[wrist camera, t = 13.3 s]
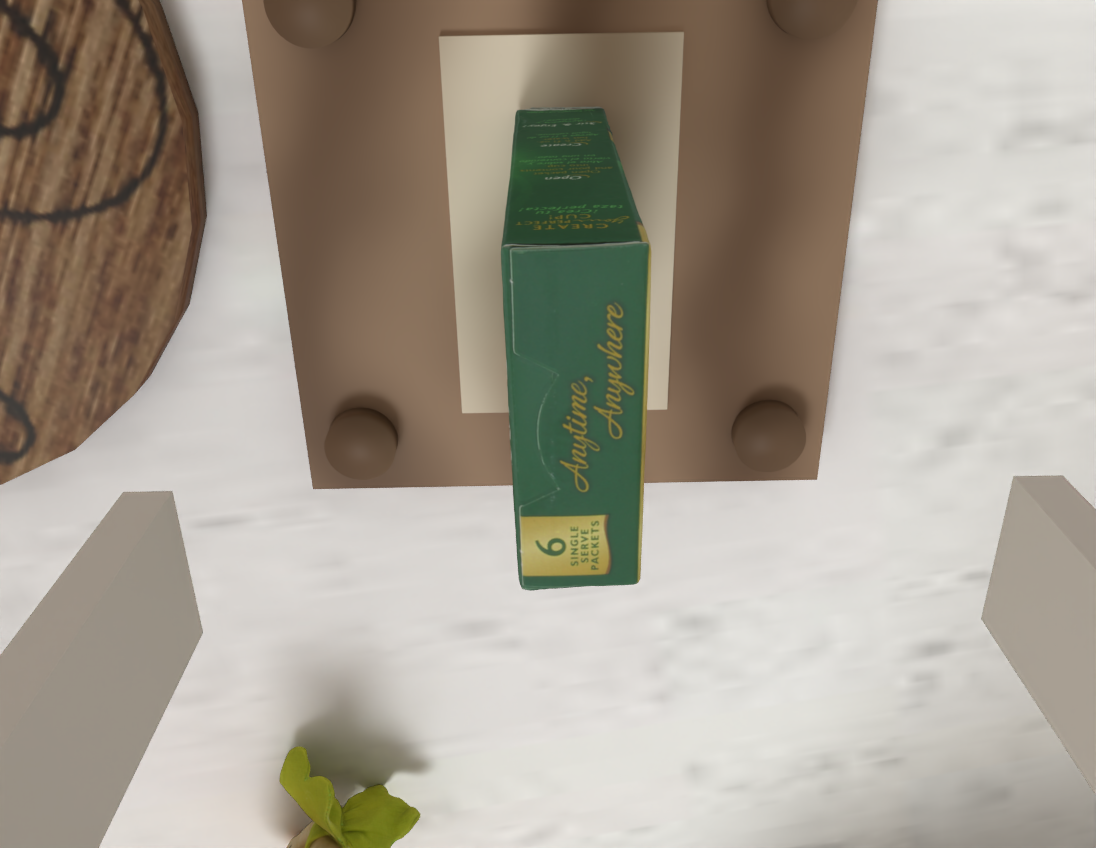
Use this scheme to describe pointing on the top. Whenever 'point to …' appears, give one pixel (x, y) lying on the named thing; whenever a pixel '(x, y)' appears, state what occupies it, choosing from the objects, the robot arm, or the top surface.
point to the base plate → (480, 203)
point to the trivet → (89, 215)
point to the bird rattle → (343, 811)
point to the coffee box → (575, 351)
